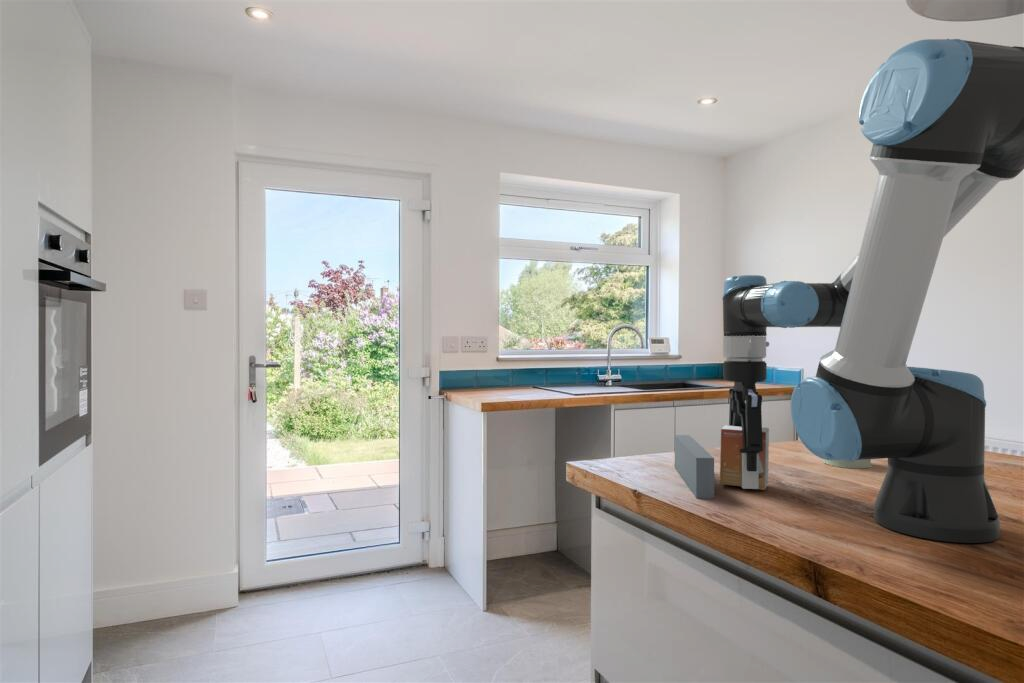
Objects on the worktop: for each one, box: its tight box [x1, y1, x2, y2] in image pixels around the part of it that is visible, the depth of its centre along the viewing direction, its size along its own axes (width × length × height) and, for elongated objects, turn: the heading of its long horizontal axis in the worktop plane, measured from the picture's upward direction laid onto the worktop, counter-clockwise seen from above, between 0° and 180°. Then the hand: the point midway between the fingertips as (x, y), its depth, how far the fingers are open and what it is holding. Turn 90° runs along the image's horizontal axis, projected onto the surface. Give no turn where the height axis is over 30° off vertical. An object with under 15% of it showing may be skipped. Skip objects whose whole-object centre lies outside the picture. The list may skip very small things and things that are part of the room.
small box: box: [719, 424, 770, 491], centre depth 114 cm, size 8×6×10 cm
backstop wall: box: [674, 434, 715, 499], centre depth 118 cm, size 24×3×7 cm, turn 174°
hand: (744, 482), depth 114 cm, fingers closed on small box, 7 cm apart
